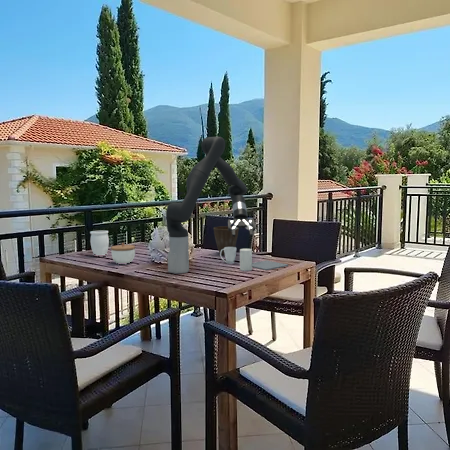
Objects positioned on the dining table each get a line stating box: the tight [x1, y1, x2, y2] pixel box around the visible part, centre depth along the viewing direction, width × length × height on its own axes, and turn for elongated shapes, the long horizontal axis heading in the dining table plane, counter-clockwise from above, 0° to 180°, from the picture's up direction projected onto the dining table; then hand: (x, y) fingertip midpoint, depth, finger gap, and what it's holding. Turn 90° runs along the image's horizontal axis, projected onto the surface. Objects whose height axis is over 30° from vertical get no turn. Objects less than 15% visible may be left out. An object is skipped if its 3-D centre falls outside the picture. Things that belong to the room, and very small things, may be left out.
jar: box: [89, 229, 110, 255], centre depth 248 cm, size 11×10×15 cm
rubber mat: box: [252, 259, 289, 271], centre depth 216 cm, size 16×16×1 cm
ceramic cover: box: [239, 248, 253, 272], centre depth 207 cm, size 6×6×10 cm
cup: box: [219, 246, 238, 264], centre depth 226 cm, size 7×10×8 cm
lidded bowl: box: [110, 242, 136, 264], centre depth 227 cm, size 13×13×11 cm
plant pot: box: [213, 225, 240, 256], centre depth 250 cm, size 15×15×16 cm
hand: (242, 236), depth 217 cm, fingers open, 8 cm apart
